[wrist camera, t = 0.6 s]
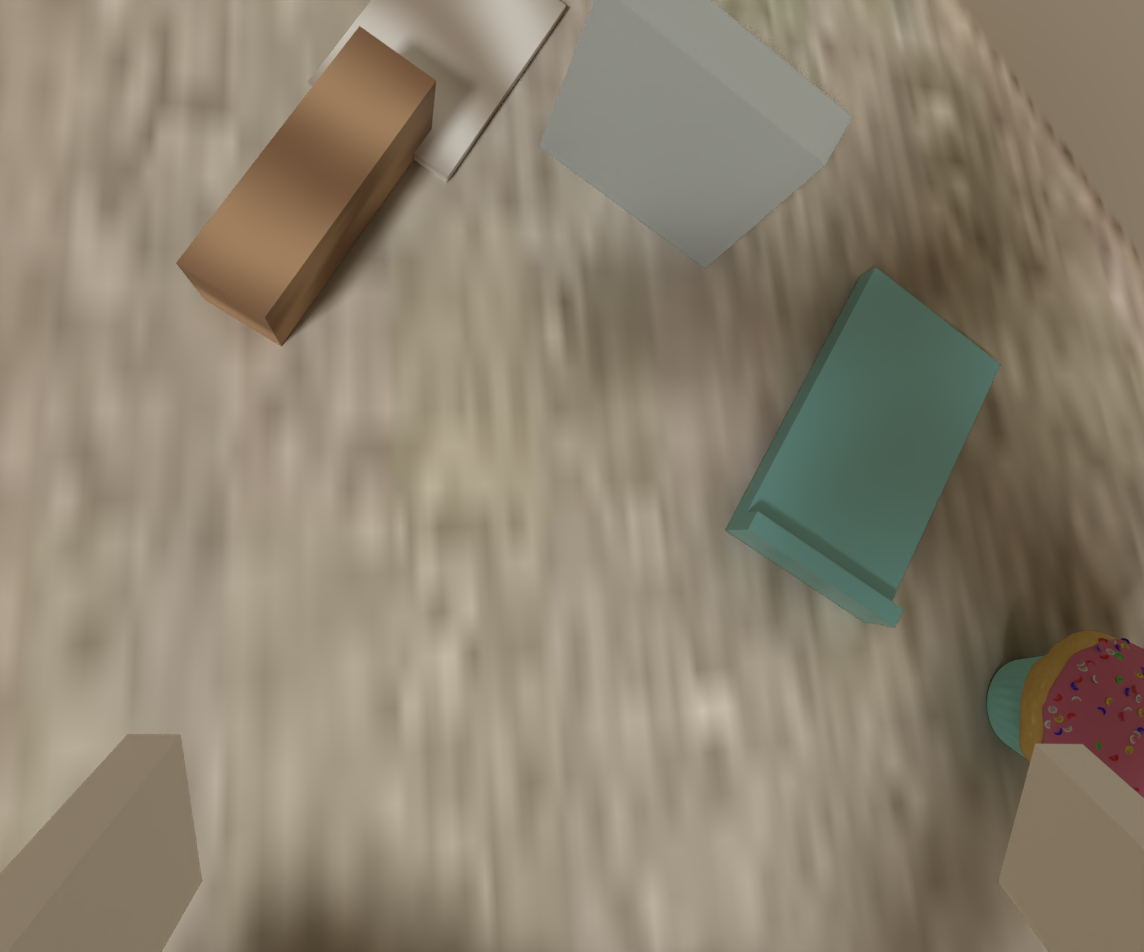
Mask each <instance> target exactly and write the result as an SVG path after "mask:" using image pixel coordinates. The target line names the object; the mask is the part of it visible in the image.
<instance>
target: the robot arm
mask: <svg viewBox="0 0 1144 952" xmlns="http://www.w3.org/2000/svg"><path fill="white" fill-rule="evenodd" d="M201 882H202V877H201V870H200V863H199V857H198V850H197V843H196V836H195V829H194V823H193V816H192V809H191V802H190V795H189V788H188V782H187V775H186V768H185V761H184V754H183V747H182V741H181V735H170V734H128V735H127V736H126V737H125V738H124V739H123V740H122V741H121V742H120V743H119V744H118V746H117V747H116V748H115V749H114V750H113V751H112V752H111V753H110V754H109V755H108V756H107V758H106V759H105V760H104V761H103V762H102V763H101V764H100V765H99V766H98V767H97V768H96V770H95V771H94V772H93V773H92V774H91V775H90V776H89V777H88V778H87V779H86V781H85V782H84V783H83V784H82V785H81V786H80V787H79V788H78V789H77V790H76V791H75V793H74V794H73V795H72V796H71V797H70V798H69V799H68V800H67V801H66V802H65V803H64V805H63V806H62V807H61V808H60V809H59V810H58V811H57V812H56V813H55V814H54V816H53V817H52V818H51V819H50V820H49V821H48V822H47V823H46V824H45V825H44V826H43V828H42V829H41V830H40V831H39V832H38V833H37V834H36V835H35V836H34V837H33V838H32V840H31V841H30V842H29V843H28V844H27V845H26V846H25V847H24V848H23V849H22V851H21V852H20V853H19V854H18V855H17V856H16V857H15V858H14V859H13V860H12V861H11V863H10V864H9V865H8V866H7V867H6V868H5V869H4V870H3V871H2V872H1V873H0V952H162V950H163V948H164V947H165V945H166V943H167V941H168V940H169V938H170V936H171V934H172V933H173V931H174V929H175V927H176V926H177V924H178V922H179V920H180V919H181V917H182V915H183V913H184V912H185V910H186V908H187V906H188V905H189V903H190V901H191V899H192V898H193V896H194V894H195V892H196V891H197V889H198V887H199V885H200V884H201ZM998 883H999V885H1000V886H1001V887H1002V889H1003V890H1004V891H1005V893H1006V894H1007V895H1008V897H1009V898H1010V900H1011V901H1012V902H1013V904H1014V905H1015V906H1016V908H1017V909H1018V910H1019V912H1020V913H1021V914H1022V916H1023V917H1024V919H1025V920H1026V921H1027V923H1028V924H1029V925H1030V927H1031V928H1032V929H1033V931H1034V932H1035V934H1036V935H1037V936H1038V938H1039V939H1040V940H1041V942H1042V943H1043V944H1044V946H1045V947H1046V948H1047V950H1048V951H1049V952H1144V798H1143V797H1142V796H1141V795H1140V794H1138V793H1137V792H1136V791H1135V790H1134V789H1133V788H1132V787H1130V786H1129V785H1128V784H1127V783H1126V782H1125V781H1124V780H1123V779H1121V778H1120V777H1119V776H1118V775H1117V774H1116V773H1115V772H1114V771H1112V770H1111V769H1110V768H1109V767H1108V766H1107V765H1106V764H1104V763H1103V762H1102V761H1101V760H1100V759H1099V758H1098V757H1097V756H1095V755H1094V754H1093V753H1092V752H1091V751H1090V750H1089V749H1087V748H1086V747H1085V746H1084V745H1083V744H1035V746H1034V750H1033V754H1032V758H1031V761H1030V765H1029V769H1028V772H1027V776H1026V780H1025V784H1024V787H1023V791H1022V795H1021V799H1020V802H1019V806H1018V810H1017V814H1016V817H1015V821H1014V825H1013V828H1012V832H1011V836H1010V840H1009V843H1008V847H1007V851H1006V855H1005V858H1004V862H1003V866H1002V869H1001V873H1000V877H999V881H998Z"/></svg>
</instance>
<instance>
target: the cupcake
mask: <svg viewBox="0 0 1144 952" xmlns="http://www.w3.org/2000/svg"><path fill="white" fill-rule="evenodd" d="M987 712H988V717H989V721H990V723H991V726H992V728H993V730H994V732H995V733H996V735H997V736H998V737H999V738H1000V740H1001V741H1002V742H1004V743H1005V744H1006V745H1007V746H1009V747H1010V748H1012V749H1013V750H1015V751H1016V752H1017V753H1019V754H1020V755H1021V756H1023V757H1024V758H1025V759H1026V760H1027V761H1028V762H1029V764H1030V761H1031V758H1032V754H1033V750H1034V746H1035V744H1083V745H1084V746H1085V747H1086V748H1087V749H1089V750H1090V751H1091V752H1092V753H1093V754H1094V755H1095V756H1097V757H1098V758H1099V759H1100V760H1101V761H1102V762H1103V763H1104V764H1106V765H1107V766H1108V767H1109V768H1110V769H1111V770H1112V771H1114V772H1115V773H1116V774H1117V775H1118V776H1119V777H1120V778H1121V779H1123V780H1124V781H1125V782H1126V783H1127V784H1128V785H1129V786H1130V787H1132V788H1133V789H1134V790H1135V791H1136V792H1137V793H1138V794H1140V795H1141V796H1142V797H1143V798H1144V649H1142V648H1140V647H1138V646H1136V645H1134V644H1132V643H1130V642H1129V640H1127V639H1125V638H1122V639H1118V638H1115V637H1113V636H1111V635H1108V634H1105V633H1102V632H1097V631H1080V632H1076V633H1073V634H1071V635H1069V636H1068V637H1066V638H1065V639H1063V640H1061V641H1060V642H1058V643H1057V644H1055V645H1054V646H1053V647H1052V648H1051V650H1050V651H1049V652H1048V654H1047V655H1043V656H1038V657H1032V658H1025V659H1017V660H1014V661H1011V662H1009V663H1007V664H1005V665H1004V666H1003V667H1002V668H1000V669H999V671H998V672H997V673H996V674H995V676H994V678H993V680H992V682H991V684H990V687H989V690H988V695H987Z"/></svg>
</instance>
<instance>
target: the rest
mask: <svg viewBox="0 0 1144 952" xmlns="http://www.w3.org/2000/svg"><path fill="white" fill-rule="evenodd" d="M1000 365H1001V364H1000V363H998V362H997V361H996V360H995V359H993V358H992V357H991V356H989V355H988V354H987V353H986V352H984V351H983V350H982V349H980V348H979V347H978V346H977V345H975V344H974V343H973V342H972V341H970V340H969V339H968V338H966V337H965V336H964V335H963V334H961V333H960V332H959V331H957V330H956V329H955V328H954V327H952V326H951V325H950V324H948V323H947V322H946V321H945V320H943V319H942V318H941V317H939V316H938V315H937V314H936V313H934V312H933V311H932V310H930V309H929V308H928V307H927V306H925V305H924V304H923V303H921V302H920V301H919V300H918V299H916V298H915V297H914V296H913V295H911V294H910V293H909V292H907V291H906V290H905V289H904V288H902V287H901V286H900V285H898V284H897V283H896V282H895V281H893V280H892V279H891V278H889V277H888V276H887V275H886V274H884V273H883V272H882V271H880V270H879V269H878V268H877V267H875V268H873V269H871V270H869V271H868V272H866V273H864V274H862V275H861V276H860V278H859V279H858V281H857V283H856V285H855V287H854V289H853V291H852V293H851V295H850V296H849V298H848V300H847V302H846V304H845V306H844V308H843V310H842V312H841V313H840V315H839V317H838V319H837V321H836V323H835V325H834V327H833V328H832V330H831V332H830V334H829V336H828V338H827V340H826V342H825V344H824V345H823V347H822V349H821V351H820V353H819V355H818V357H817V359H816V361H815V362H814V364H813V366H812V368H811V370H810V372H809V374H808V376H807V377H806V379H805V381H804V383H803V385H802V387H801V389H800V391H799V393H798V394H797V396H796V398H795V400H794V402H793V404H792V406H791V408H790V410H789V411H788V413H787V415H786V417H785V419H784V421H783V423H782V425H781V426H780V428H779V430H778V432H777V434H776V436H775V438H774V440H773V442H772V443H771V445H770V447H769V449H768V451H767V453H766V455H765V457H764V459H763V460H762V462H761V464H760V466H759V468H758V470H757V472H756V474H755V476H754V477H753V479H752V481H751V483H750V485H749V487H748V489H747V491H746V492H745V494H744V496H743V498H742V500H741V502H740V504H739V506H738V508H737V509H736V511H735V513H734V515H733V517H732V519H731V521H730V523H729V525H728V526H727V528H726V531H727V532H729V533H730V534H732V535H733V536H735V537H736V538H738V539H739V540H741V541H742V542H744V543H745V544H747V545H748V546H750V547H751V548H753V549H754V550H756V551H758V552H759V553H761V554H762V555H764V556H765V557H767V558H768V559H770V560H771V561H773V562H774V563H776V564H777V565H779V566H780V567H782V568H783V569H785V570H786V571H788V572H789V573H791V574H792V575H794V576H795V577H797V578H798V579H800V580H801V581H803V582H804V583H806V584H807V585H809V586H810V587H812V588H813V589H815V590H816V591H818V592H819V593H821V594H823V595H824V596H826V597H827V598H829V599H830V600H832V601H833V602H835V603H836V604H838V605H839V606H841V607H842V608H844V609H845V610H847V611H848V612H850V613H851V614H853V615H854V616H856V617H857V618H859V619H860V620H862V621H863V622H865V623H871V624H877V625H882V626H888V627H894V628H895V627H896V625H897V622H898V620H899V618H900V616H901V614H902V611H903V609H902V608H901V607H899V606H898V605H896V604H895V603H893V602H892V600H893V598H894V595H895V593H896V591H897V589H898V587H899V584H900V582H901V580H902V578H903V576H904V574H905V571H906V569H907V567H908V565H909V563H910V561H911V558H912V556H913V554H914V552H915V550H916V547H917V545H918V543H919V541H920V539H921V537H922V534H923V532H924V530H925V528H926V526H927V524H928V521H929V519H930V517H931V515H932V513H933V510H934V508H935V506H936V504H937V502H938V500H939V497H940V495H941V493H942V491H943V489H944V487H945V484H946V482H947V480H948V478H949V476H950V473H951V471H952V469H953V467H954V465H955V463H956V460H957V458H958V456H959V454H960V452H961V450H962V447H963V445H964V443H965V441H966V439H967V437H968V434H969V432H970V430H971V428H972V426H973V423H974V421H975V419H976V417H977V415H978V413H979V410H980V408H981V406H982V404H983V402H984V400H985V397H986V395H987V393H988V391H989V389H990V386H991V384H992V382H993V380H994V378H995V376H996V373H997V371H998V369H999V367H1000Z"/></svg>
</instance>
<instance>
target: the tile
mask: <svg viewBox="0 0 1144 952" xmlns="http://www.w3.org/2000/svg"><path fill="white" fill-rule="evenodd" d="M852 117H853V116H851V115H850V114H849V113H848V112H847V111H845V110H844V109H843V108H842V107H840V106H839V105H838V104H837V103H836V102H834V101H833V100H832V99H831V98H830V97H828V96H827V95H826V94H825V93H823V92H822V91H821V90H820V89H819V88H817V87H816V86H815V85H814V84H813V83H811V82H810V81H809V80H808V79H806V78H805V77H804V76H803V75H802V74H800V73H799V72H798V71H797V70H795V69H794V68H793V67H792V66H791V65H789V64H788V63H787V62H786V61H785V60H783V59H782V58H781V57H780V56H778V55H777V54H776V53H775V52H774V51H772V50H771V49H770V48H769V47H768V46H766V45H765V44H764V43H763V42H761V41H760V40H759V39H758V38H757V37H755V36H754V35H753V34H752V33H750V32H749V31H748V30H747V29H746V28H744V27H743V26H742V25H741V24H740V23H738V22H737V21H736V20H735V19H733V18H732V17H731V16H730V15H729V14H727V13H726V12H725V11H724V10H723V9H721V8H720V7H719V6H718V5H716V4H715V3H714V2H713V1H712V0H594V1H593V4H592V7H591V9H590V12H589V15H588V17H587V20H586V23H585V25H584V28H583V31H582V33H581V36H580V39H579V41H578V44H577V47H576V49H575V52H574V55H573V57H572V60H571V63H570V65H569V68H568V71H567V73H566V76H565V79H564V81H563V84H562V87H561V89H560V92H559V95H558V97H557V100H556V103H555V105H554V108H553V111H552V113H551V116H550V119H549V121H548V124H547V127H546V129H545V132H544V135H543V137H542V140H541V143H540V145H539V147H540V148H541V149H543V150H544V151H545V152H547V153H548V154H549V155H551V156H552V157H554V158H555V159H556V160H558V161H559V162H560V163H562V164H563V165H564V166H566V167H567V168H568V169H570V170H571V171H572V172H574V173H575V174H577V175H578V176H579V177H581V178H582V179H583V180H585V181H586V182H587V183H589V184H590V185H591V186H593V187H594V188H596V189H597V190H598V191H600V192H601V193H602V194H604V195H605V196H606V197H608V198H609V199H610V200H612V201H613V202H615V203H616V204H617V205H619V206H620V207H621V208H623V209H624V210H625V211H627V212H628V213H629V214H631V215H632V216H633V217H635V218H636V219H638V220H639V221H640V222H642V223H643V224H644V225H646V226H647V227H648V228H650V229H651V230H652V231H654V232H655V233H657V234H658V235H659V236H661V237H662V238H663V239H665V240H666V241H667V242H669V243H670V244H671V245H673V246H674V247H676V248H677V249H678V250H680V251H681V252H682V253H684V254H685V255H686V256H688V257H689V258H690V259H692V260H693V261H694V262H696V263H697V264H699V265H700V266H701V267H703V268H704V269H705V268H707V267H708V266H709V265H710V264H711V263H712V262H714V261H715V260H716V259H717V258H718V257H719V256H720V255H722V254H723V253H724V252H725V251H726V250H727V249H729V248H730V247H731V246H732V245H733V244H734V243H736V242H737V241H738V240H739V239H740V238H741V237H742V236H744V235H745V234H746V233H747V232H748V231H749V230H751V229H752V228H753V227H754V226H755V225H756V224H757V223H759V222H760V221H761V220H762V219H763V218H764V217H766V216H767V215H768V214H769V213H770V212H771V211H773V210H774V209H775V208H776V207H777V206H778V205H779V204H781V203H782V202H783V201H784V200H785V199H786V198H788V197H789V196H790V195H791V194H792V193H793V192H795V191H796V190H797V189H798V188H799V187H800V186H801V185H803V184H804V183H805V182H806V181H807V180H808V179H810V178H811V177H812V176H813V175H814V174H815V173H817V172H818V171H819V170H820V169H821V168H822V167H823V166H825V165H826V163H827V161H828V159H829V158H830V156H831V154H832V152H833V151H834V149H835V147H836V145H837V144H838V142H839V140H840V138H841V137H842V135H843V133H844V131H845V130H846V128H847V126H848V124H849V122H850V121H851V119H852Z"/></svg>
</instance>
